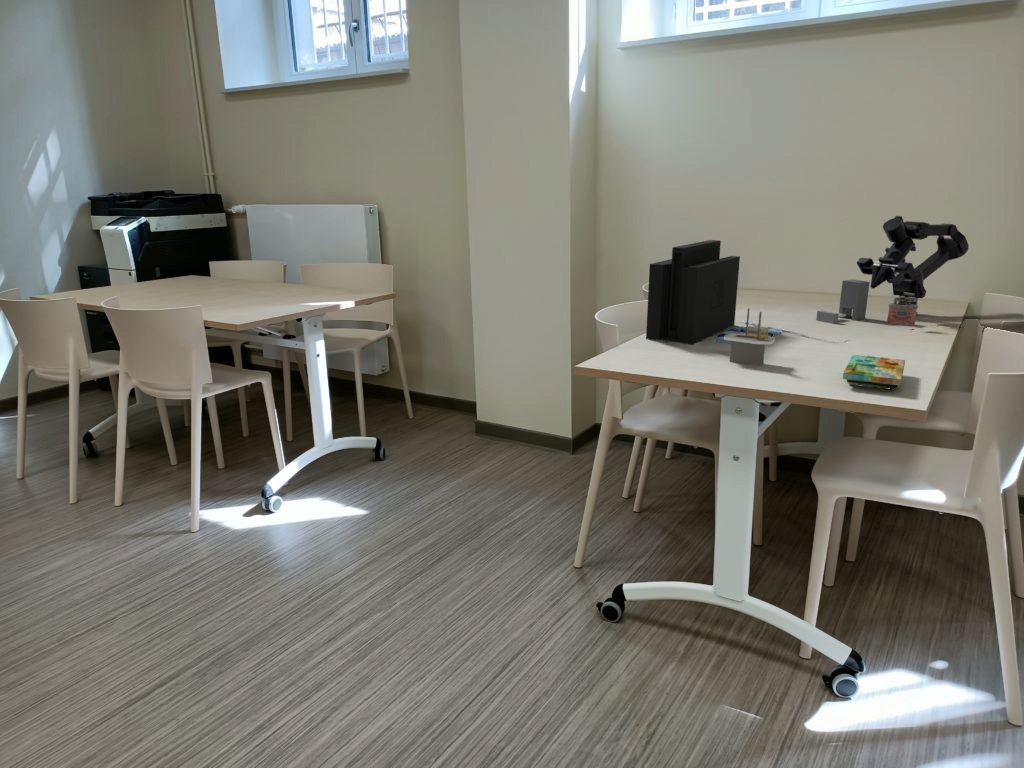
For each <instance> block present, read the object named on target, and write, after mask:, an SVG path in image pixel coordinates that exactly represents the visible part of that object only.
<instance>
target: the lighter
mask: <svg viewBox="0 0 1024 768" xmlns="http://www.w3.org/2000/svg"><path fill="white" fill-rule="evenodd" d="M906 301H909V302H908V304H906ZM911 302H916V298H914V297H908V298H905V296H901V297H899V296H894V297H893V302H890V303H889V302H888V303H889V304H888V314H887V320H886V323H887V324H890V325H891V324H892V325H902V326H915V325H916V318H917V316H916V312H918V311H917V309H918V307H919V306H918V304H917V305H912V304H911ZM914 330H915V328H911V329H909V331H914Z"/></svg>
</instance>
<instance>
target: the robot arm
mask: <svg viewBox="0 0 1024 768" xmlns="http://www.w3.org/2000/svg"><path fill="white" fill-rule="evenodd" d="M882 230H883V231H884V233H885V235H886V238H887V239H888V241H889V242H891V243H892V244H891V245H890V247H886V248H885V250H884V251H885V254H884V256H879V257H878V259H877V260H878V261H873V259H872V258H871V257H870V258H869V257H859V258H858V260H857V261H856V265H857V266H858V268H859V270H860V271H861V273H862V274H863V275H868V276H869V275H870V276H871V280H870V288H871V289H873V290H874V289H876V288H877V287H878V286H880V285H881V284H883V283H884V282H887V283H888V284H891V285H892V294H893V296H898V297H901V296H905V298H908V297H914V298H916V302H911V304H912V305H918V301H919V299H923V298H925V296H926V294H927V289H926V288H925V286H924V282H925V281H924V280H926V279H927V278H929V276H931V275H932V274H933V273H934V272H936V271H937V270H938V269H940V268H941V267H942V266H944V264H946V263H947V262H948V261H952V260H956V259H959V258H961V257H963V256H964V255H966V253H967V252H968V251H969V243H968V240H967V238H966V236H965V235H964V234H963V233H962V232H961V231H959V230H958V227H957V225H955V224H953V223H937V224H935V223H934V224H932V223H931V224H930V223H928V222H924V221H911V220H910V221H909V220H908V221H907V220H906V221H904V218H903V216H901V215H896V216H895V217H894V218H893V217H892V218H891V219H888V220H887V221H884V223H883V225H882ZM935 236H936V237H937V239H936V245H937V250H936V251H935V252H934V253H932V254H931V255H930V256H929V257H928V258H926V259H925V260H923V261H922V262H921V263H920V264H918V265H917V266H914V264H913V262H908V261H906V259H905V258H906V257H907V255H908V254H909V253H910V252H916V250H917V247H916V243H915V242H914V240H918V241H919V240H920V241H921V240H925V239H927V238H928V237H935ZM944 236H945V237H946V238H945V237H944ZM949 237H950V238H949ZM908 302H909V301H906V304H908ZM917 314H918V311H916V317H917V316H918V315H917Z"/></svg>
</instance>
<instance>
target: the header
mask: <svg viewBox="0 0 1024 768" xmlns="http://www.w3.org/2000/svg"><path fill="white" fill-rule="evenodd" d="M844 316H846V314H843V313H839V312H832V311H827V310H817V311H816V317H815V318H816V319H815V320H816V322H817V321H818V322H822V323H826V324H832V325H836V324H838V322H839V317H844ZM844 318H845V317H844Z"/></svg>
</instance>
